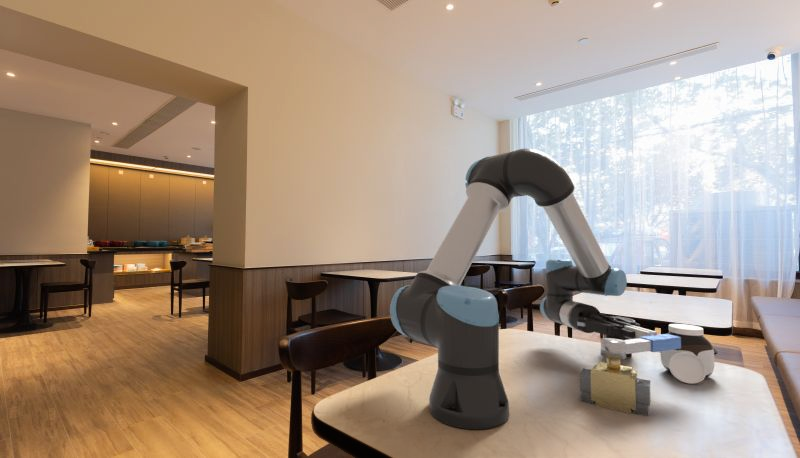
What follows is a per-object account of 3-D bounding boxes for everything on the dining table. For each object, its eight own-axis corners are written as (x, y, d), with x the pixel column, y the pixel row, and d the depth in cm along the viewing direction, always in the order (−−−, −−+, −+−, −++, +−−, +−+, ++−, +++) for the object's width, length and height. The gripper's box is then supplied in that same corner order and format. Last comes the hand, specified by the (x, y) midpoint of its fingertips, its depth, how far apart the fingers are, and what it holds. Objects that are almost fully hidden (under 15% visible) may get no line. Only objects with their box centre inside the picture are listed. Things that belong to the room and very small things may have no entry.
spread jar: (696, 369, 94) (694, 323, 95) (734, 386, 83) (732, 334, 83) (648, 369, 95) (646, 323, 95) (680, 386, 83) (678, 334, 84)
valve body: (579, 401, 76) (578, 354, 76) (584, 391, 80) (583, 348, 81) (649, 417, 69) (648, 366, 69) (651, 405, 73) (649, 357, 74)
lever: (595, 353, 76) (595, 339, 76) (664, 345, 82) (663, 331, 82) (614, 360, 72) (613, 344, 72) (684, 350, 78) (684, 336, 78)
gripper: (602, 328, 105) (679, 353, 82) (558, 331, 103) (625, 358, 79) (602, 302, 105) (678, 319, 82) (558, 304, 103) (624, 322, 80)
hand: (652, 338), depth 81 cm, fingers closed
